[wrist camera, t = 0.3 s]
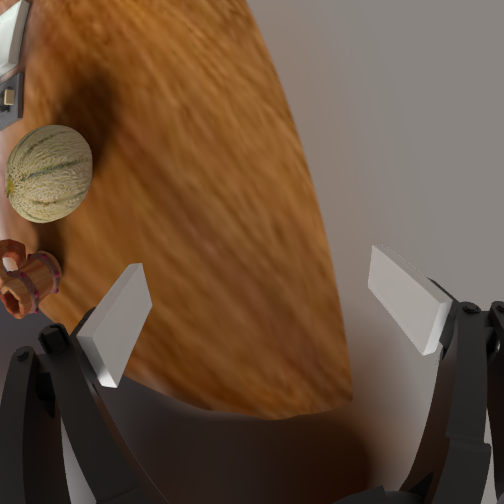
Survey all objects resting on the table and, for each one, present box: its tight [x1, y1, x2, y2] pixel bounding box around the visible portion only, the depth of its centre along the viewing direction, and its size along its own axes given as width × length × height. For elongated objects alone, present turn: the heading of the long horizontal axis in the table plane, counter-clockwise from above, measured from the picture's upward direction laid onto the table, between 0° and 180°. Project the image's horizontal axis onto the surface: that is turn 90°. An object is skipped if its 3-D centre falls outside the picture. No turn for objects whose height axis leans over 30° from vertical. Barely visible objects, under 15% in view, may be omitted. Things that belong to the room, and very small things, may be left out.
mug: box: [0, 239, 62, 319], centre depth 35 cm, size 15×8×15 cm, turn 30°
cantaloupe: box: [5, 125, 92, 223], centre depth 30 cm, size 15×15×15 cm
